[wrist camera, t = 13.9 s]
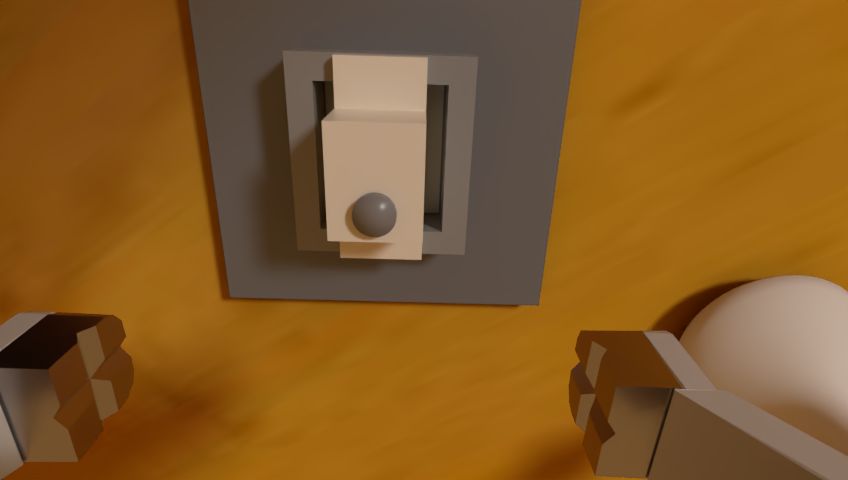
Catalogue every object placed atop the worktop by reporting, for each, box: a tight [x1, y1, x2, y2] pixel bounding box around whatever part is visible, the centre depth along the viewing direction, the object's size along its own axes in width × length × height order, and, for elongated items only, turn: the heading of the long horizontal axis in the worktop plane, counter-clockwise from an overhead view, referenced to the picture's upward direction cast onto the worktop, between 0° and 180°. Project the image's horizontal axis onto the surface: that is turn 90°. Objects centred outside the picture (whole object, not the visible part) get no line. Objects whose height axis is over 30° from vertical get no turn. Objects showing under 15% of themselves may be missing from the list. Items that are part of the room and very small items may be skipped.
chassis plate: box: [188, 0, 581, 305], centre depth 25 cm, size 18×18×4 cm
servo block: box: [322, 54, 428, 260], centre depth 23 cm, size 9×4×6 cm, turn 178°
